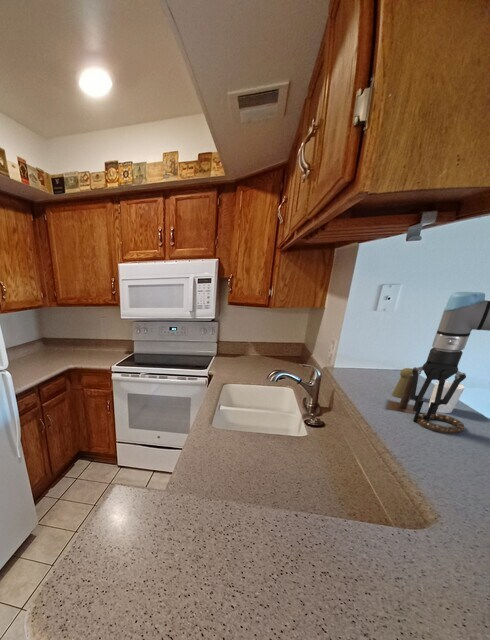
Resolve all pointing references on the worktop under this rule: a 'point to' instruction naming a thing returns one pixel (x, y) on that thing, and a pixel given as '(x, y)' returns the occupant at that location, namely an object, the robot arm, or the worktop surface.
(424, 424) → the ring
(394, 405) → the stand
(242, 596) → the worktop surface
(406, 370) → the cork
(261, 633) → the worktop surface
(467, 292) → the robot arm
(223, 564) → the worktop surface
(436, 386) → the white cup
